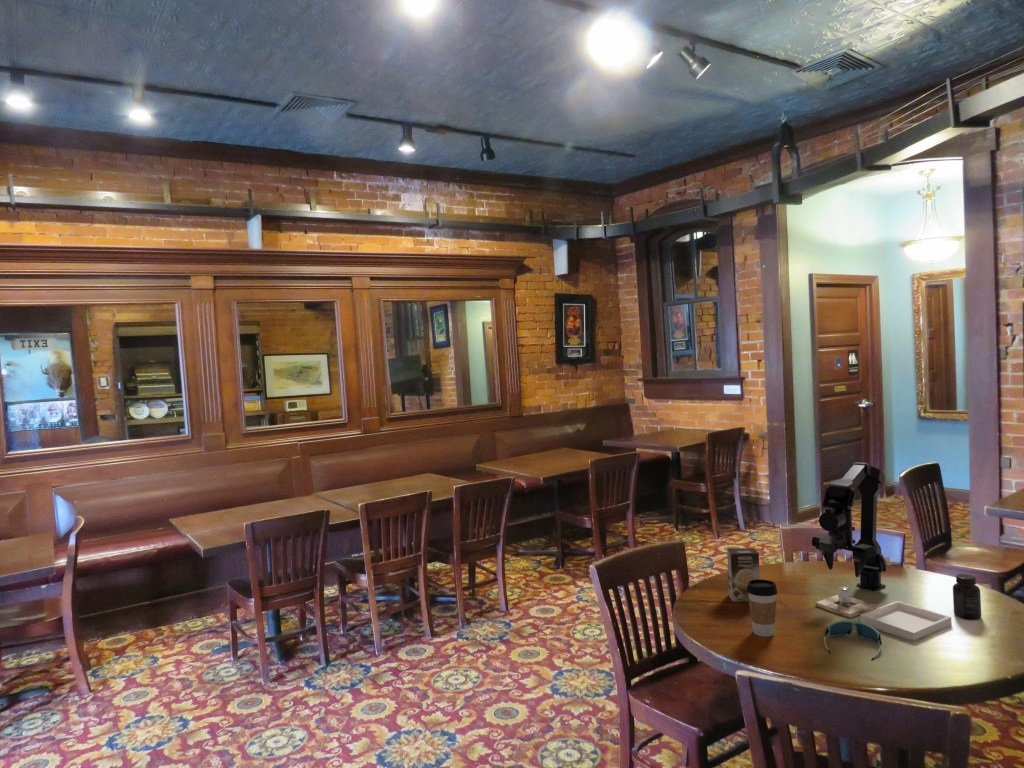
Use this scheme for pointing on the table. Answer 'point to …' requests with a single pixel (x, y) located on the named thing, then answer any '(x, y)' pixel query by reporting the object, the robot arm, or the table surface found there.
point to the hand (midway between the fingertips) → (843, 573)
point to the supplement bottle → (966, 598)
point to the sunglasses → (861, 629)
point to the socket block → (852, 611)
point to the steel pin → (844, 596)
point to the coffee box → (741, 571)
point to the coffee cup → (762, 606)
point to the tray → (906, 620)
